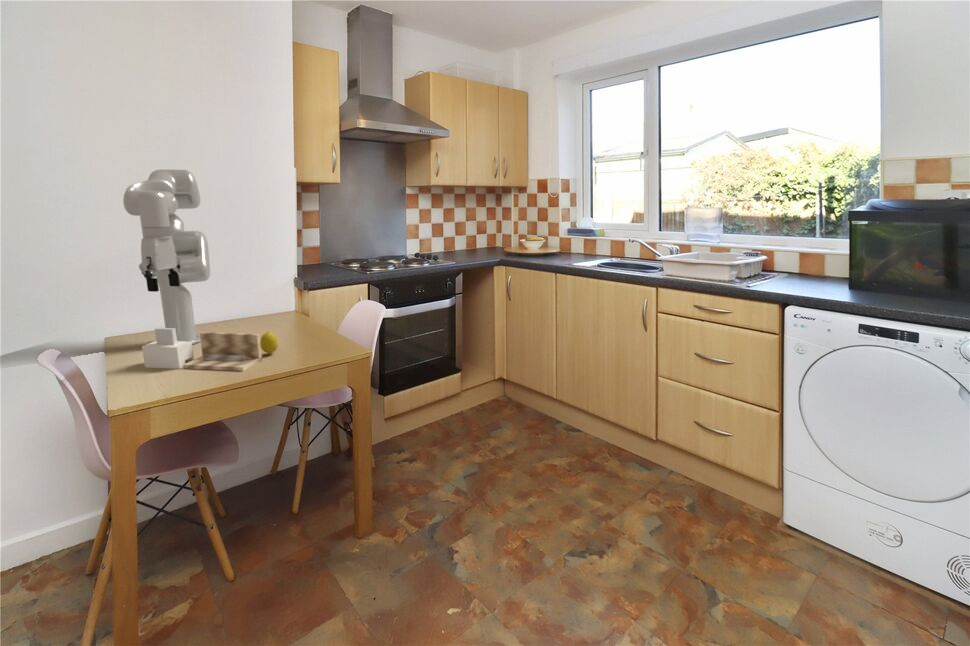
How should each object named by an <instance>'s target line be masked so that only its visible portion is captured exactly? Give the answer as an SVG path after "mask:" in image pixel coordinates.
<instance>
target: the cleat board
mask: <svg viewBox="0 0 970 646" xmlns="http://www.w3.org/2000/svg"><path fill="white" fill-rule="evenodd" d="M199 336H200V339H201V341H200V344H201V345H200V347H201V354H202V356H199V357H197V358H194V360H193V361H190V362H188V363H185V364H184V365H183V366H184V367H183V369H189V370H190V369H191V370H192V369H193V370H212V371H215V370H216V371H235V372H245V371H246V370H248V369H249V368H251V367H253V366H255V365H257V364H258V363H260V362H262V361H263V355H262V348H261V344H260V341H261V337H260V333H243V332H240V333H239V332H236V333H235V332H213V331H211V332H210V331H202V332H199Z"/></svg>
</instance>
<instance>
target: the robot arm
mask: <svg viewBox="0 0 970 646" xmlns="http://www.w3.org/2000/svg"><path fill="white" fill-rule="evenodd" d="M122 199H123V206H124V209H125V211H126V212H127V214H128V215H131V216H135V217H138V216H139V218H140V225H141V233H142V238H141V242H140V243H141V244H140V253H141V262H140V264H138V269H139V270H140V272H141V274H142V276H143V277H144V279H146V281H145V282H146V286H147V291H148V292H151V293H152V292H154V293H157V292H160V300H161V307H162V313H163V320H164V321H163V322H164V326H165V327H164V328H176V336H177V341H188V342H192V345H194V344H198V343H201V339H200V335H197V331H196V324H195V316H194V307H193V300H192V298H193V297H192V294H191V293H190V291H189V290H188V289H187V287H185V286H184V285H183V284H185V283H200V282H205V281H208V280H209V279H210V275H211V267H210V265H211V264H210V253H209V244H208V240H207V237H206V235H205V234H204V233H203V232H202V231H198V230H185V224H184V222H183V220H182V219H181V218H180V217H179V216H178V215H177V214H176V211H177V210H178V209H180V210H184V209H185V210H187V209H188V210H191V209H193V210H194V209H197V208H198V207H199V206H200V204H201V195H200V190H199V186H198V183H197V180H196V178H195V176H194V174H193V173H192V172H191V171H189V170H187V169H156V170H154V171H152V172H151V173H150V174H149V177H148V179H146V180H144V181H141V182H137V183H133V184H130V185H129V186H128V187H127V188H126V189H125V191H124V194H123V198H122Z"/></svg>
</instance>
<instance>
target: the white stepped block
mask: <svg viewBox="0 0 970 646" xmlns="http://www.w3.org/2000/svg"><path fill="white" fill-rule="evenodd" d="M154 334H155V341H153V342H150V343H147V344H144V345H141V349H142V355H143V362H144V368H150V369H151V368H152V369H153V368H154V369H176V370H177V369H178V370H180V369H184V366H183V365H184V364H186V363H188V362H190V361H193V360H195V357H194V349H193V348H194V347H193V344H192V342H188V341H177V336H176V328H165V327H156V328H154Z"/></svg>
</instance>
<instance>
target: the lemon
mask: <svg viewBox="0 0 970 646" xmlns="http://www.w3.org/2000/svg"><path fill="white" fill-rule="evenodd" d="M260 344H261V351H263V352H264V353H266V354H268V355H273V353H274V352H276V351H277V349H278V346H279V342H278V338H277V335H275V333H273V332H270V331H267V332H265V333H264V334H263V335H262V336H261V337H260Z"/></svg>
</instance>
